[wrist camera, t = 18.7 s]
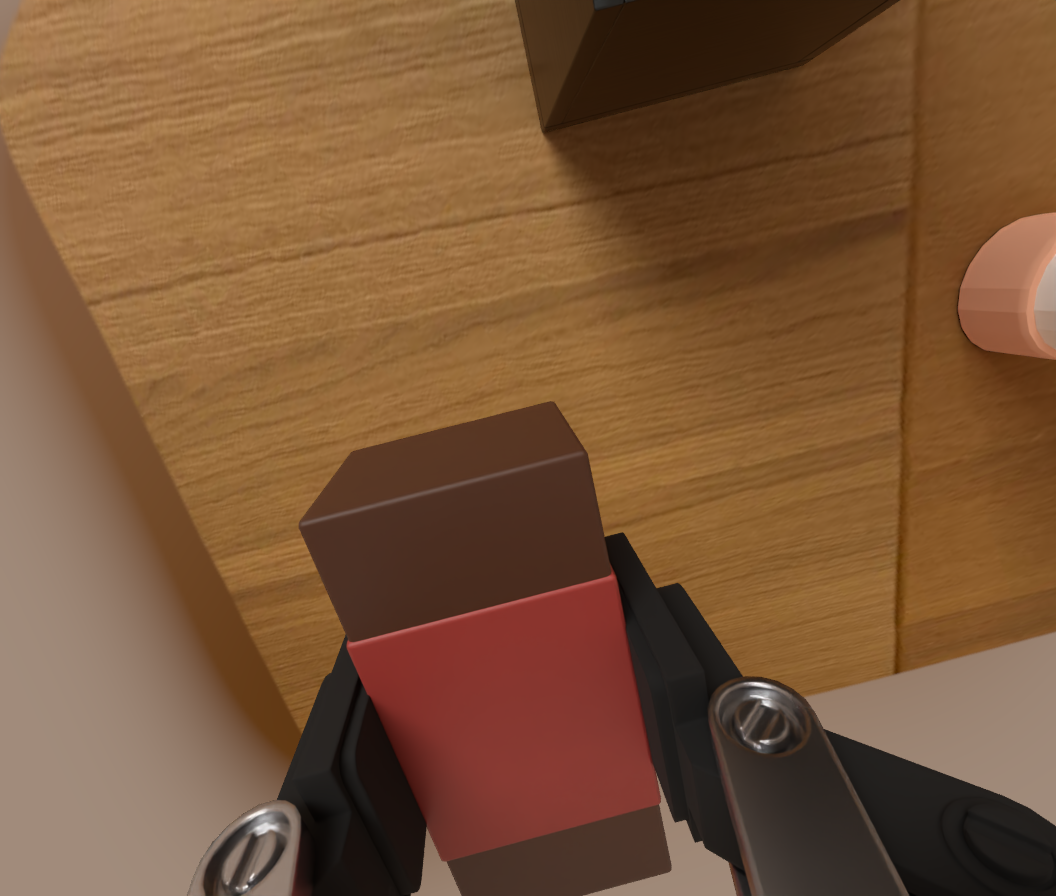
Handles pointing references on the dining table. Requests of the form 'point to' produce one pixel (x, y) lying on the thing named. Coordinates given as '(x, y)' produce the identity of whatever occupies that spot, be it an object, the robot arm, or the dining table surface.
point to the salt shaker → (1013, 290)
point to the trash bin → (668, 47)
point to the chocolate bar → (496, 651)
